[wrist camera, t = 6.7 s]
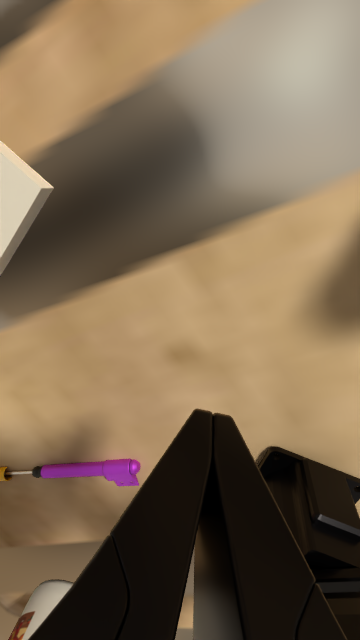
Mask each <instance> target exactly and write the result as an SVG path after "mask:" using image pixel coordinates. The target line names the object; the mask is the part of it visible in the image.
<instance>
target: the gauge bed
mask: <svg viewBox="0 0 360 640" xmlns="http://www.w3.org/2000/svg"><path fill="white" fill-rule="evenodd" d="M53 189H54V188H53V187H52V186H51V185H50V184H49V183H48V182H47V181H46V180H44V179H43V178H42V177H41V176H40V175H39V174H38V173H37V172H35V171H34V170H33V169H32V168H31V167H30V166H29V165H27V164H26V163H25V162H24V161H23V160H22V159H21V158H20V157H18V156H17V155H16V154H15V153H14V152H13V151H12V150H11V149H9V148H8V147H7V146H6V145H5V144H4V143H3V142H1V141H0V276H1V274H2V273H3V271H4V270H5V268H6V266H7V265H8V263H9V261H10V260H11V258H12V256H13V255H14V253H15V251H16V250H17V248H18V246H19V245H20V243H21V241H22V240H23V238H24V237H25V235H26V233H27V232H28V230H29V228H30V227H31V225H32V223H33V222H34V220H35V218H36V217H37V215H38V213H39V212H40V210H41V208H42V207H43V205H44V203H45V202H46V200H47V199H48V197H49V195H50V194H51V192H52V190H53Z"/></svg>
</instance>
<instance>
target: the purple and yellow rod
mask: <svg viewBox="0 0 360 640" xmlns="http://www.w3.org/2000/svg"><path fill="white" fill-rule="evenodd" d="M6 468H7V467H0V481H9V480H11V478H12V477H4V475H12V474H32V475H33V476H34V477H36V478H39V477H42V478H63V477H85V476H105V477H106V479H107V480H108V481H115V483H116V484H117V486H136V485H139V483H138V481H137V478H136V475H135V474H137V473H138V471H139V470H140V463H139V462H138V461H136V460H131V459H119V460H106V461H104V462H87V463H71V464H54V465H44V466H41V467H39V466H37V467H35V468H34V469H33V471H14V472H5V469H6ZM121 482H123V483H121ZM131 482H133V483H131Z"/></svg>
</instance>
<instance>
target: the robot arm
mask: <svg viewBox="0 0 360 640" xmlns="http://www.w3.org/2000/svg"><path fill="white" fill-rule="evenodd" d="M274 454H278V455H277V456H275V455H274ZM357 486H358V487H357ZM359 499H360V479H359V478H356V477H354V476H351V475H348V474H346V473H343V472H341V471H338V470H336V469H333V468H331V467H328V466H326V465H323V464H320V463H318V462H315V461H313V460H310V459H308V458H305V457H303V456H300V455H298V454H295V453H292V452H290V451H287V450H285V449H282V448H280V447H271V448H270V449H269V450H268V451H267V453H266V454H265V456H264V458H263V459H262V461H261V463H260V464H259V466H258V467H257V465H256V463H255V461H254V459H253V457H252V455H251V453H250V451H249V449H248V447H247V445H246V443H245V441H244V439H243V437H242V435H241V433H240V432H239V430H238V428H237V426H236V424H235V422H234V420H233V418H232V417H231V416H229V415H225V414H220V413H214V414H212V412H210V411H206V410H201V409H195V410H194V411H193V412H192V414H191V415H190V417H189V418H188V419H187V421H186V422H185V424H184V425H183V427H182V428H181V430H180V431H179V433H178V434H177V436H176V437H175V438H174V440H173V441H172V443H171V444H170V446H169V447H168V449H167V450H166V452H165V453H164V455H163V456H162V457H161V459H160V460H159V462H158V463H157V465H156V466H155V468H154V469H153V471H152V472H151V474H150V475H149V476H148V478H147V479H146V481H145V482H144V484H143V485H142V487H141V488H140V490H139V491H138V493H137V494H136V495H135V497H134V498H133V500H132V501H131V503H130V504H129V506H128V507H127V509H126V510H125V511H124V513H123V514H122V516H121V517H120V519H119V520H118V522H117V523H116V525H115V526H114V528H113V529H112V530H111V533H110V535H109V536H107V537H106V539H105V540H104V542H103V543H102V545H101V546H100V548H99V549H98V551H97V552H96V554H95V555H94V556H93V558H92V559H91V560H90V562H89V563H88V565H87V566H86V567H85V569H84V570H83V571H82V573H81V574H80V576H79V577H78V578H77V580H76V581H75V582H74V584H73V585H72V586H71V588H70V589H69V590H68V591H67V593H66V594H65V595H64V596H63V598H62V599H61V600H60V601H59V603H58V604H57V605H56V606H55V608H54V609H53V610H52V611H51V612H50V614H49V615H48V616H47V617H46V619H45V620H44V621H43V622H42V624H41V625H40V626H39V627H38V628H37V629H36V631H35V632H34V633H33V634H32V635H31V636H30V638H29V639H28V640H175V636H176V631H177V626H178V621H179V617H180V612H181V607H182V602H183V597H184V593H185V588H186V583H187V578H188V573H189V569H190V564H191V558H192V554H193V549H194V545H195V562H194V564H195V565H194V613H193V640H360V518H359V515H358V512H357V509H356V506H355V504H356V503H357V501H358V500H359Z"/></svg>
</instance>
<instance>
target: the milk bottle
mask: <svg viewBox="0 0 360 640" xmlns="http://www.w3.org/2000/svg"><path fill="white" fill-rule="evenodd" d="M73 584H74V583H73V582H69V581H65V580H48V581H45V582H43V583H41V584H40V585H39V586H38V587H37V588H36V589H35V590H34V591H33V593H32V595H31V597H30V599H29V601H28V602H27V604H26V606H25V608H24V610H23V612H22V614H21V616H20V618H19V620H18V622H17V624H16V626H15V628H14V630H13V631H12V633H11V636H10V637H9V639H8V640H28V639H29V638H30V636H31V635H32V634H33V633H34V632H35V631H36V629H37V628H38V627H39V626H40V625H41V624H42V622H43V621H44V620H45V619H46V617H47V616H48V615H49V614H50V612H51V611H52V610H53V609H54V608H55V606H56V605H57V604H58V603H59V601H60V600H61V599H62V598H63V596H64V595H65V594H66V593H67V591H68V590H69V589H70V588H71V586H72V585H73Z"/></svg>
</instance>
